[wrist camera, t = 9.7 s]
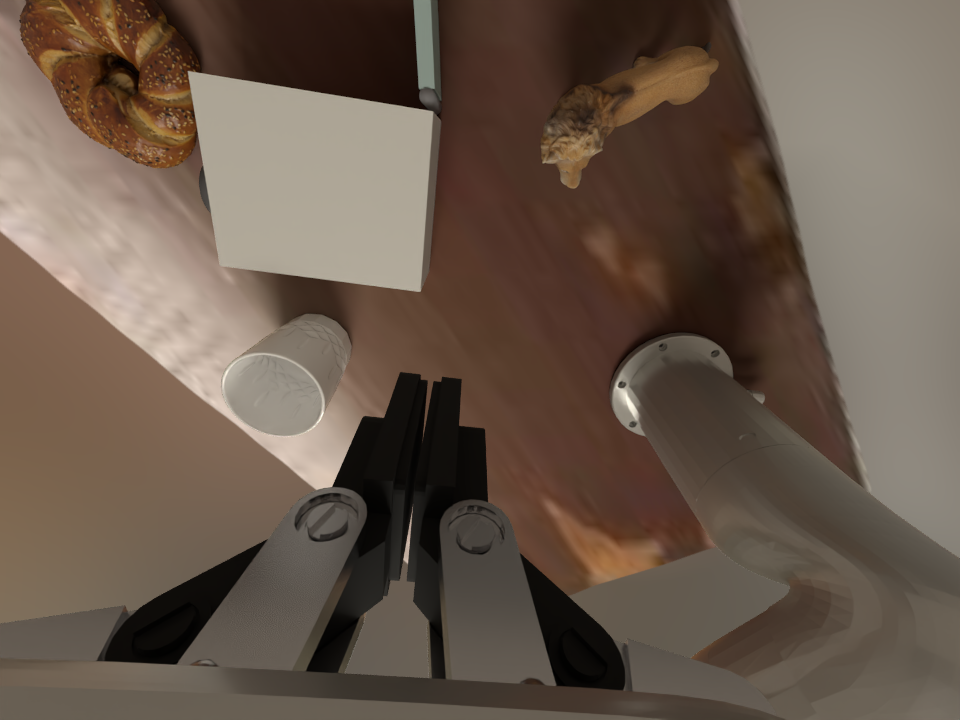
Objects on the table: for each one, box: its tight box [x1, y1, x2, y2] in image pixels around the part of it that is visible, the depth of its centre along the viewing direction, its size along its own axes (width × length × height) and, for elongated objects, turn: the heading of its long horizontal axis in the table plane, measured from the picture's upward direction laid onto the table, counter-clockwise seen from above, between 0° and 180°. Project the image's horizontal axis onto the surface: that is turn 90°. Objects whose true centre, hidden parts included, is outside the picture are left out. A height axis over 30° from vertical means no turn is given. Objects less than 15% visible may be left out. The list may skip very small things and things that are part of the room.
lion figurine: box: [541, 42, 719, 188], centre depth 26 cm, size 15×5×9 cm, turn 122°
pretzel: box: [19, 0, 201, 168], centre depth 28 cm, size 12×11×4 cm
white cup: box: [221, 314, 352, 437], centre depth 35 cm, size 8×8×10 cm
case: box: [188, 71, 441, 292], centre depth 30 cm, size 16×12×7 cm
